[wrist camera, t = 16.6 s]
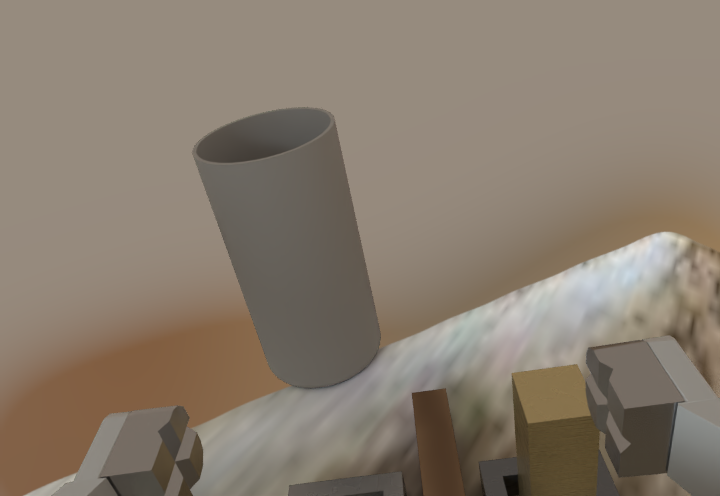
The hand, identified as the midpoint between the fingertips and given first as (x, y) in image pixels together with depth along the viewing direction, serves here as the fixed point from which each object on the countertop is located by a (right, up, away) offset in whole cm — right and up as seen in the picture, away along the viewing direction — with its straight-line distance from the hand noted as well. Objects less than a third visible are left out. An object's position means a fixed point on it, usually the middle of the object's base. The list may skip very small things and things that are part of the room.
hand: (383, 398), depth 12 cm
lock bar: (+14, -17, +29) cm, 37 cm away
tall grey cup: (-4, -8, +51) cm, 52 cm away
